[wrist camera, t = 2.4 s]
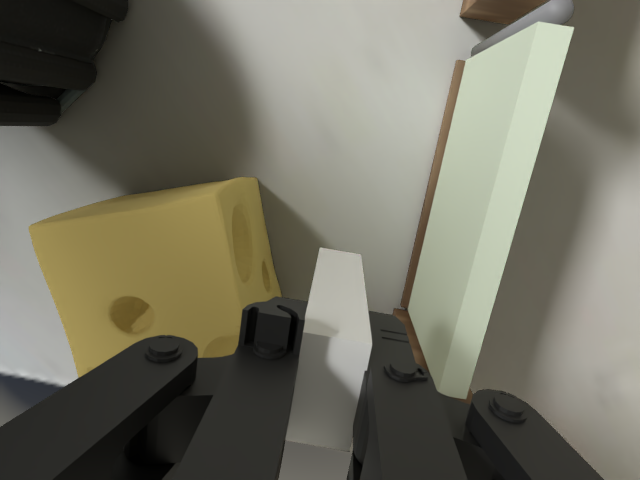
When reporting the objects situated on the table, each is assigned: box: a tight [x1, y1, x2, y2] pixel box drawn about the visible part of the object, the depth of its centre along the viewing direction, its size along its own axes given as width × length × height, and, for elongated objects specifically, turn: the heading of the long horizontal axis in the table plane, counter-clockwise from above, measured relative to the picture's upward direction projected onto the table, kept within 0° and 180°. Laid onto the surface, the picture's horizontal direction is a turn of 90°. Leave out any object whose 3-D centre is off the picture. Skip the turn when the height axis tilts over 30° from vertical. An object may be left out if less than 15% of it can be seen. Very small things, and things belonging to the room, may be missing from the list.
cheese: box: [29, 177, 282, 378], centre depth 26 cm, size 10×11×10 cm
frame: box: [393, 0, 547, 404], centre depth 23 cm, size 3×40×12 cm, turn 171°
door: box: [408, 0, 574, 399], centre depth 23 cm, size 18×3×10 cm, turn 171°
